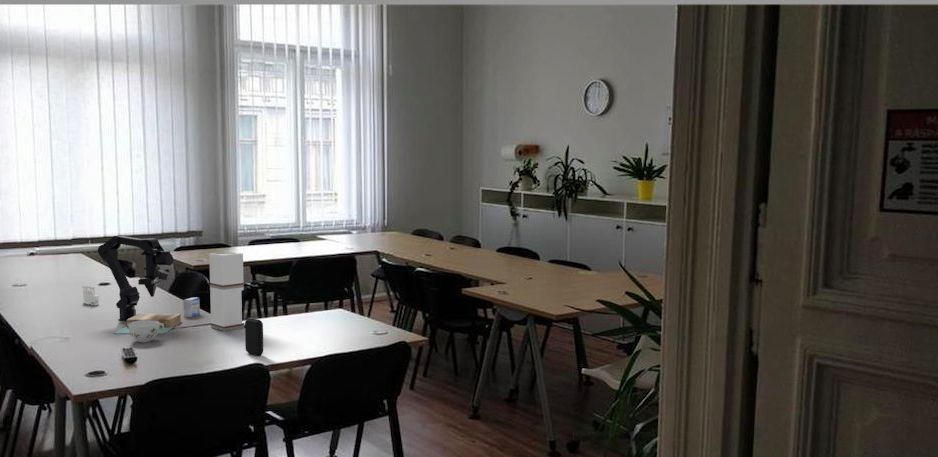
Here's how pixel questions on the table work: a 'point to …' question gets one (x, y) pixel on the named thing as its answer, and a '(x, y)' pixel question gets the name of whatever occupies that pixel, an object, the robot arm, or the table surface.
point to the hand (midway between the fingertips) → (152, 296)
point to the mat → (127, 331)
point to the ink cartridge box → (90, 296)
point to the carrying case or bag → (254, 336)
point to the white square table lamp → (226, 290)
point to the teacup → (144, 330)
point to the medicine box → (191, 307)
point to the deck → (158, 319)
